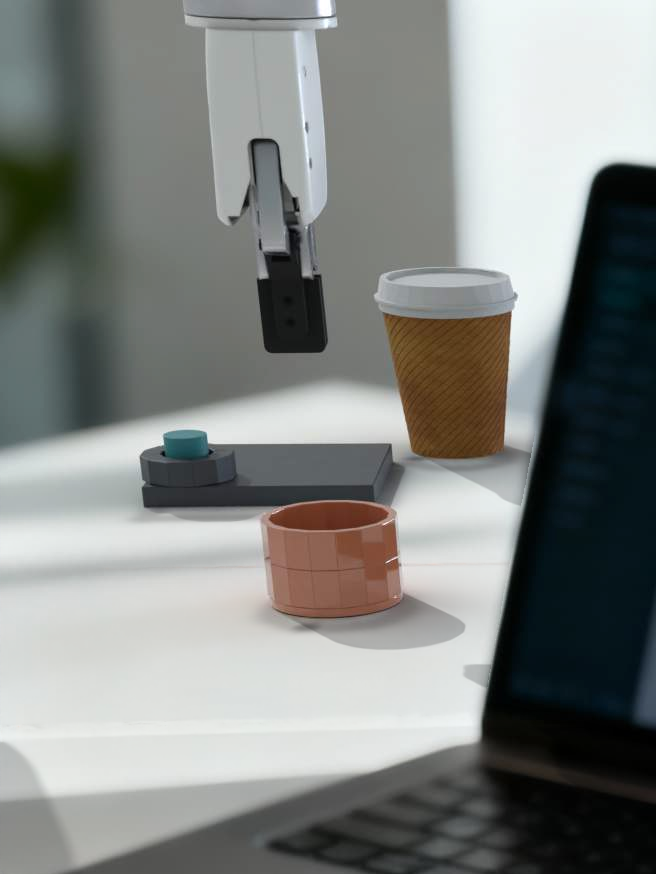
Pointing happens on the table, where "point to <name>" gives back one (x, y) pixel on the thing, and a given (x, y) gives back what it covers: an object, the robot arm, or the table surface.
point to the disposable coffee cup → (450, 356)
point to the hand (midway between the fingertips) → (297, 349)
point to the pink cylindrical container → (332, 558)
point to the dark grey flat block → (265, 474)
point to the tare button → (186, 444)
